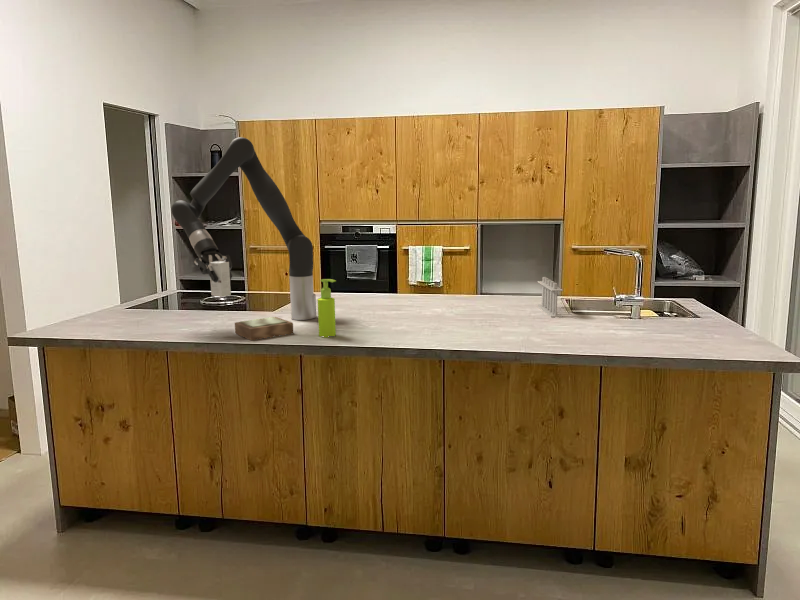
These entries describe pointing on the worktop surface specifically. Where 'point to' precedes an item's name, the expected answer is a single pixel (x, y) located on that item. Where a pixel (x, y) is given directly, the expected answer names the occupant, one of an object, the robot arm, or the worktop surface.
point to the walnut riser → (263, 328)
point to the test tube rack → (549, 297)
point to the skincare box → (221, 279)
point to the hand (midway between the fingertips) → (223, 279)
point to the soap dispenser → (326, 311)
